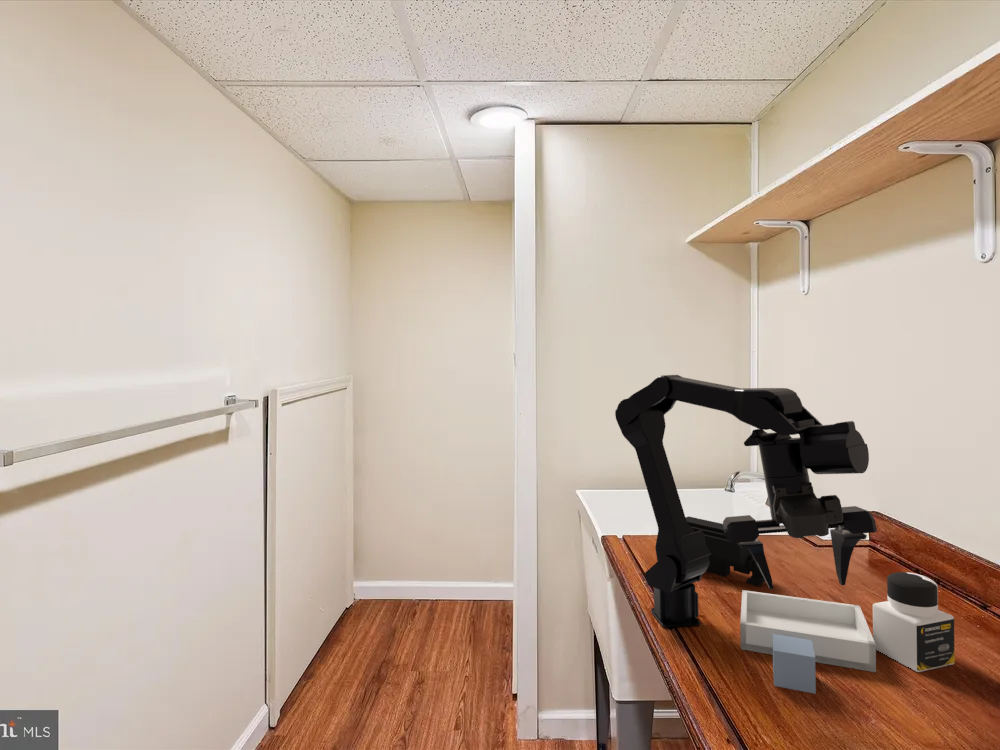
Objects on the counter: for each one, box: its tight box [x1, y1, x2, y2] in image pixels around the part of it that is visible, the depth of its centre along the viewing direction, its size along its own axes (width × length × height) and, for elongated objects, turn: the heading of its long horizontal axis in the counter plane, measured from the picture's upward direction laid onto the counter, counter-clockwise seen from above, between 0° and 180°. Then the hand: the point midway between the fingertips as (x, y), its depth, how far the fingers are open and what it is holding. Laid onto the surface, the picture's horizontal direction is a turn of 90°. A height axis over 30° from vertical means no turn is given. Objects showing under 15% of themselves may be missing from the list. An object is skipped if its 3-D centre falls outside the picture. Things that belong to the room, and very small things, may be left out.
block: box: [772, 634, 817, 695], centre depth 78 cm, size 5×5×5 cm
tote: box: [739, 589, 877, 673], centre depth 89 cm, size 18×14×4 cm
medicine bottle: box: [872, 571, 956, 673], centre depth 83 cm, size 7×7×12 cm
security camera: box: [685, 516, 766, 587], centre depth 117 cm, size 7×18×10 cm, turn 39°
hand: (806, 586), depth 79 cm, fingers open, 9 cm apart
